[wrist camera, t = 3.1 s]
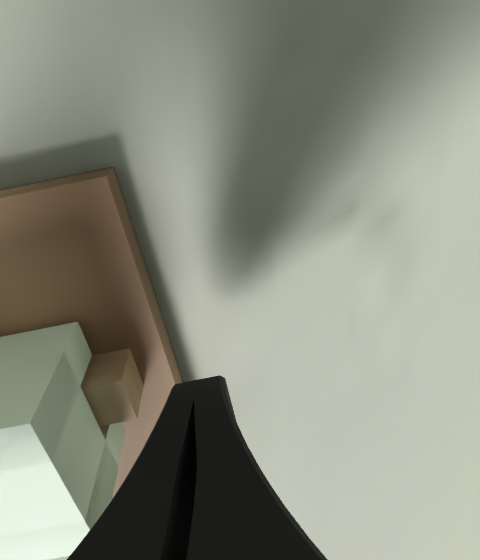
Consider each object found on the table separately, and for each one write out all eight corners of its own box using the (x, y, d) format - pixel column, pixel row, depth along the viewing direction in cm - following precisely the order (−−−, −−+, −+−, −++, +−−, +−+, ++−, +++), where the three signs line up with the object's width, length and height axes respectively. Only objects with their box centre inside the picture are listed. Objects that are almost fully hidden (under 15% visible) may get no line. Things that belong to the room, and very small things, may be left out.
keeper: (9, 454, 15) (-51, 577, 11) (-57, 348, 13) (-154, 458, 9) (125, 432, 15) (101, 549, 11) (77, 321, 13) (29, 423, 9)
